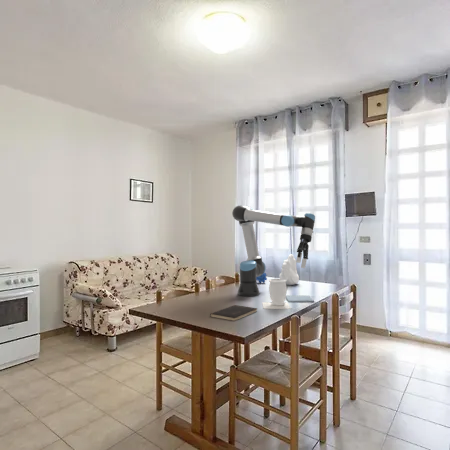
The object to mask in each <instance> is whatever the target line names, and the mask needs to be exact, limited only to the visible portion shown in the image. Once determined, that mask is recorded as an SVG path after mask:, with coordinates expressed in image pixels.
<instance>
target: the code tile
mask: <svg viewBox="0 0 450 450" xmlns="http://www.w3.org/2000/svg"><path fill="white" fill-rule="evenodd" d="M271 302H272V301H271ZM271 302H269V301H268V302H264V301H262V302H261V303H262V309H263V310H291V309H292V308H291V306H290V304H289V302H288V301H287V302H285V301H284V302H285V305H281V306H276V305H272V304H271Z"/></svg>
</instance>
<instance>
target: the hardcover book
mask: <svg viewBox="0 0 450 450" xmlns="http://www.w3.org/2000/svg"><path fill="white" fill-rule="evenodd" d="M257 311H258V308H257V307H252V306H245V305H237V304H234V305H230V306H228V307H225V308H223V309H219V310H216V311H214V312H211V313H210V317H212V318H218V319H223V320H228V321H238V320H239V319H242V318H244V317H247V316H249V315H252V314H254V313H256V312H257Z"/></svg>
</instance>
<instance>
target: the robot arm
mask: <svg viewBox="0 0 450 450" xmlns="http://www.w3.org/2000/svg"><path fill="white" fill-rule="evenodd" d="M232 217H233V219H234V220H235V221H237V222H238V224H239V226H240V227H241V228H242V229H241V230H242V234H243V238H244V244H245V248H246V254H247V259H246V260H243V261H241V262H240V263H239V282H240V283H239V286H238V290H237V295H238V296H240V297H241V296H242V297H257V296H259V295H260V290H259V287H258V284H257V282H258V281H257V280H256V277H259V276H261V275H263V274H264V273H266V270H267V269H266V268H267V266H266V264H265V263H264V261H263V257H262V256H260V254H259V253H260V252H259V248H258V244H257V236H256V234H255V228H254V224H255V223H256V222H258V223H264V224H265V223H266V224H269V225H270V224H271V225H276V226H284V227H295V228H296V227H299V228H301V231H300V237H299V240H300V241H299V245H298V247H297V249H296V253H297V255H296V256H297V257H296V264H297V263H299V264H300V268H301V269H306V265H307V260H309V248H310V245H309V243H311V242H312V238H313V237H312V236H313V234H314V227H315V223H316V216H315V214H314V213H311V212H306V213H305V214H304V215H302V216H300V215H293V214H291V215H290V214H284V213H283V214H282V213H275V212H270V211H261V210H256V209H255V210H254V208H252V207H251V206H248V205H237V206H235V207H234V208H233V209H232Z"/></svg>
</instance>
